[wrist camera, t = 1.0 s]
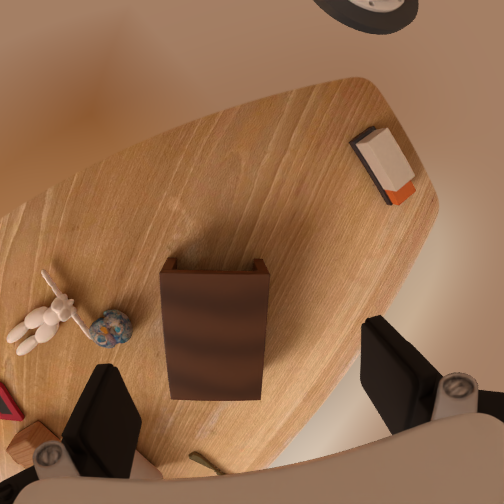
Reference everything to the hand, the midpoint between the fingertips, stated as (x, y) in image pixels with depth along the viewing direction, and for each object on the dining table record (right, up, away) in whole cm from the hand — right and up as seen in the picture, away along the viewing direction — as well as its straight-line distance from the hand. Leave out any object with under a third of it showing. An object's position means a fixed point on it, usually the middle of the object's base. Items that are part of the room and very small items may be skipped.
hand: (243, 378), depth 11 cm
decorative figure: (-40, -12, +27) cm, 49 cm away
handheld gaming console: (-61, -28, +31) cm, 74 cm away
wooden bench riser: (-5, -5, +31) cm, 32 cm away
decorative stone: (-19, -5, +30) cm, 36 cm away
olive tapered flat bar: (-7, -37, +38) cm, 54 cm away
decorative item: (-39, -32, +31) cm, 59 cm away
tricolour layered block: (+17, +16, +28) cm, 36 cm away
